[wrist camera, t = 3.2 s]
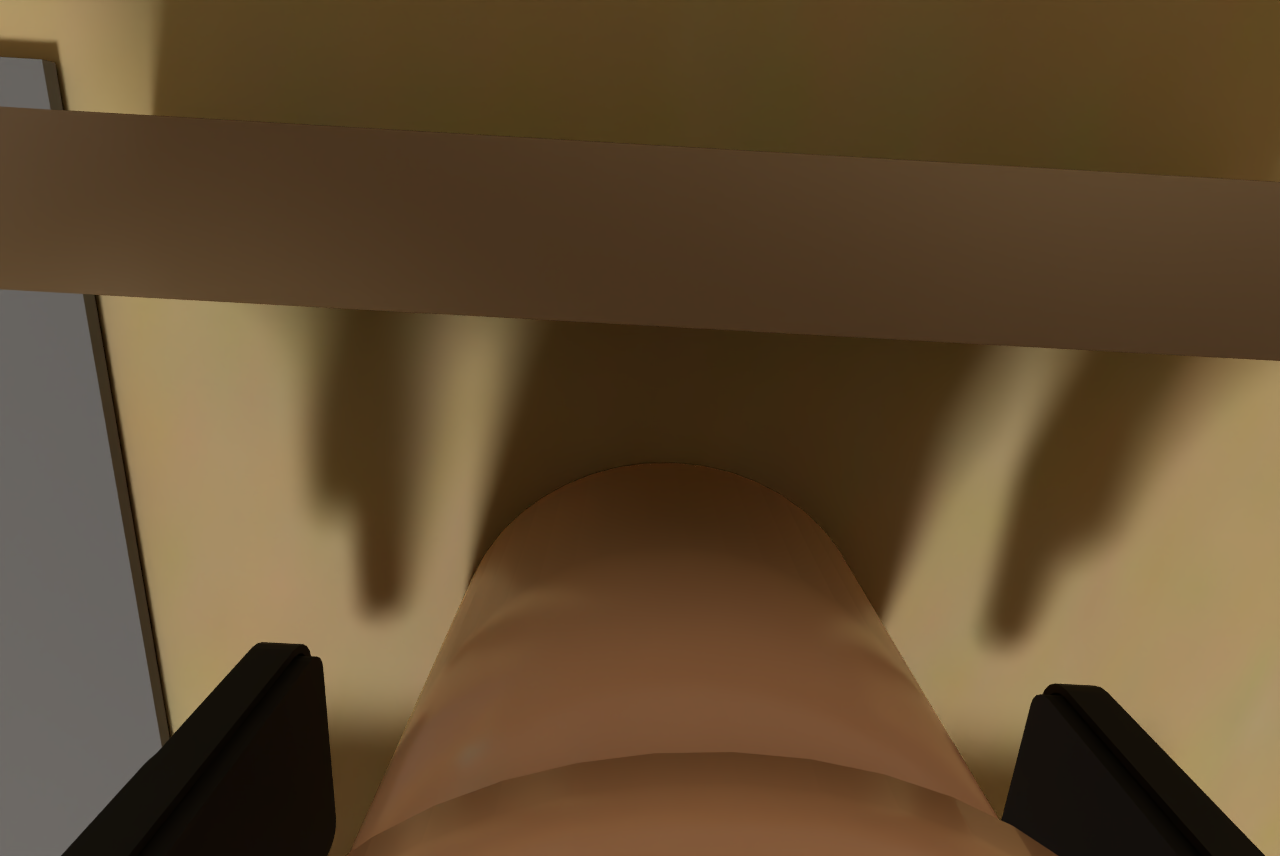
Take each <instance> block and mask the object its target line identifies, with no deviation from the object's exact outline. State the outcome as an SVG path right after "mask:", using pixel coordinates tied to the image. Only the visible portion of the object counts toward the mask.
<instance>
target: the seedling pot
mask: <svg viewBox="0 0 1280 856" xmlns="http://www.w3.org/2000/svg"><path fill="white" fill-rule="evenodd" d="M346 856H1058V855H1056V854H1055V853H1053V852H1052V851H1050V850H1049V849H1047V848H1046V847H1044V846H1043V845H1041V844H1040V843H1038V842H1037V841H1035V840H1034V839H1032V838H1031V837H1029V836H1028V835H1026V834H1025V833H1023V832H1022V831H1020V830H1019V829H1017V828H1015V827H1014V826H1012V825H1010V824H1008V823H1006V822H1004V821H1002V820H1000V819H998V817H997V816H996V814H995V812H994V811H993V809H992V807H991V805H990V804H989V802H988V800H987V799H986V797H985V795H984V794H983V792H982V790H981V789H980V787H979V785H978V784H977V782H976V780H975V779H974V777H973V775H972V773H971V772H970V770H969V768H968V767H967V765H966V763H965V762H964V760H963V758H962V757H961V755H960V753H959V752H958V750H957V748H956V747H955V745H954V743H953V742H952V740H951V738H950V736H949V735H948V733H947V731H946V730H945V728H944V726H943V725H942V723H941V721H940V720H939V718H938V716H937V715H936V713H935V711H934V710H933V708H932V706H931V704H930V703H929V701H928V699H927V698H926V696H925V694H924V693H923V691H922V689H921V688H920V686H919V684H918V683H917V681H916V679H915V678H914V676H913V674H912V673H911V671H910V669H909V667H908V666H907V664H906V662H905V661H904V659H903V657H902V656H901V654H900V652H899V651H898V649H897V647H896V646H895V644H894V642H893V641H892V639H891V637H890V635H889V634H888V632H887V630H886V629H885V627H884V625H883V624H882V622H881V620H880V619H879V617H878V615H877V614H876V612H875V610H874V609H873V607H872V605H871V603H870V602H869V600H868V598H867V597H866V595H865V593H864V592H863V590H862V588H861V587H860V585H859V583H858V582H857V580H856V578H855V577H854V575H853V573H852V572H851V570H850V568H849V566H848V565H847V563H846V561H845V560H844V558H843V556H842V555H841V553H840V551H839V550H838V548H837V547H836V546H835V544H834V543H833V542H832V540H831V539H830V538H829V537H828V535H827V534H826V533H825V532H824V530H823V529H822V528H821V527H820V526H819V525H818V524H817V523H816V522H815V521H814V520H813V519H812V518H811V517H809V516H808V515H807V514H806V513H805V512H804V511H803V510H802V509H800V508H799V507H798V506H796V505H795V504H793V503H792V502H791V501H789V500H788V499H786V498H785V497H784V496H782V495H780V494H779V493H777V492H775V491H773V490H771V489H769V488H767V487H765V486H764V485H762V484H760V483H758V482H755V481H753V480H750V479H747V478H745V477H742V476H739V475H737V474H734V473H731V472H727V471H723V470H719V469H715V468H710V467H706V466H700V465H690V464H681V463H645V464H638V465H631V466H624V467H617V468H613V469H610V470H606V471H602V472H599V473H595V474H591V475H588V476H586V477H583V478H581V479H579V480H576V481H574V482H571V483H569V484H566V485H564V486H562V487H560V488H559V489H557V490H555V491H553V492H552V493H550V494H548V495H546V496H545V497H543V498H541V499H540V500H538V501H537V502H536V503H534V504H533V505H532V506H530V507H529V508H528V509H526V510H525V511H524V512H522V513H521V514H520V515H518V516H517V517H516V518H515V519H514V520H513V521H512V523H511V524H510V525H509V526H508V527H507V528H506V529H505V530H504V531H503V532H502V533H501V534H500V535H499V536H498V537H497V539H496V540H495V541H494V543H493V544H492V545H491V547H490V548H489V549H488V551H487V552H486V553H485V555H484V557H483V558H482V560H481V562H480V564H479V566H478V568H477V569H476V571H475V573H474V575H473V577H472V579H471V581H470V584H469V586H468V588H467V590H466V593H465V595H464V597H463V599H462V602H461V604H460V606H459V608H458V611H457V613H456V615H455V617H454V619H453V622H452V624H451V626H450V628H449V631H448V633H447V635H446V637H445V640H444V642H443V644H442V646H441V649H440V651H439V653H438V655H437V658H436V660H435V662H434V664H433V667H432V669H431V671H430V673H429V676H428V678H427V680H426V682H425V685H424V687H423V689H422V691H421V693H420V696H419V698H418V700H417V702H416V705H415V707H414V709H413V711H412V714H411V716H410V718H409V720H408V723H407V725H406V727H405V729H404V732H403V734H402V736H401V738H400V741H399V743H398V745H397V747H396V750H395V752H394V754H393V756H392V759H391V761H390V763H389V765H388V767H387V770H386V772H385V774H384V776H383V779H382V781H381V783H380V785H379V788H378V790H377V792H376V794H375V797H374V799H373V801H372V803H371V806H370V808H369V810H368V812H367V815H366V817H365V819H364V821H363V824H362V826H361V828H360V830H359V833H358V835H357V837H356V839H355V842H354V844H353V846H352V848H351V850H350V853H348V854H347V855H346Z"/></svg>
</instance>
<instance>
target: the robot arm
mask: <svg viewBox="0 0 1280 856" xmlns="http://www.w3.org/2000/svg"><path fill="white" fill-rule="evenodd" d="M1002 821H1004V822H1006V823H1008V824H1010V825H1012V826H1014V827H1015V828H1017V829H1019V830H1020V831H1022V832H1023V833H1025V834H1026V835H1028V836H1029V837H1031V838H1032V839H1034V840H1035V841H1037V842H1038V843H1040V844H1041V845H1043V846H1044V847H1046V848H1047V849H1049V850H1050V851H1052V852H1053V853H1055V854H1056V855H1058V856H1265V855H1264V854H1263V853H1262V852H1261V851H1260V850H1259V849H1258V848H1257V847H1256V846H1255V845H1254V844H1253V843H1252V842H1251V841H1250V840H1249V839H1248V838H1247V836H1246V835H1245V834H1244V833H1243V832H1242V831H1241V830H1240V829H1239V828H1238V827H1237V826H1236V825H1235V824H1234V823H1233V822H1232V821H1231V820H1230V819H1229V818H1228V817H1227V816H1226V815H1225V814H1224V813H1223V812H1222V811H1221V810H1220V808H1219V807H1218V806H1217V805H1216V804H1215V803H1214V802H1213V801H1212V800H1211V799H1210V798H1209V797H1208V796H1207V795H1206V794H1205V793H1204V792H1203V791H1202V790H1201V789H1200V788H1199V787H1198V786H1197V785H1196V784H1195V783H1194V782H1193V780H1192V779H1191V778H1190V777H1189V776H1188V775H1187V774H1186V773H1185V772H1184V771H1183V770H1182V769H1181V768H1180V767H1179V766H1178V765H1177V764H1176V763H1175V762H1174V761H1173V760H1172V759H1171V758H1170V757H1169V756H1168V755H1167V754H1166V752H1165V751H1164V750H1163V749H1162V748H1161V747H1160V746H1159V745H1158V744H1157V743H1156V742H1155V741H1154V740H1153V739H1152V738H1151V737H1150V736H1149V735H1148V734H1147V733H1146V732H1145V731H1144V730H1143V729H1142V728H1141V727H1140V726H1139V724H1138V723H1137V722H1136V721H1135V720H1134V719H1133V718H1132V717H1131V716H1130V715H1129V714H1128V713H1127V712H1126V711H1125V710H1124V709H1123V708H1122V707H1121V706H1120V705H1119V704H1118V703H1117V702H1116V701H1115V700H1114V699H1113V698H1112V696H1111V695H1110V694H1109V693H1108V692H1106V691H1105V690H1104V689H1102V688H1101V687H1097V686H1091V685H1072V684H1051V685H1049V686H1048V687H1047V688H1046V689H1045V690H1044V693H1043V694H1040V695H1036V696H1035V697H1034V698H1033V700H1032V703H1031V706H1030V710H1029V714H1028V718H1027V722H1026V725H1025V729H1024V733H1023V737H1022V741H1021V745H1020V749H1019V753H1018V757H1017V761H1016V765H1015V769H1014V773H1013V777H1012V781H1011V785H1010V789H1009V793H1008V797H1007V800H1006V804H1005V808H1004V812H1003V816H1002ZM335 828H336V813H335V801H334V790H333V778H332V766H331V755H330V743H329V731H328V719H327V708H326V696H325V684H324V672H323V664H322V661H321V659H320V658H319V657H313V656H311V655H310V651H309V649H308V647H307V646H305V645H304V644H287V643H267V642H261V643H257V644H256V645H255V646H254V647H252V648H251V649H250V650H249V652H248V653H247V654H246V655H245V656H244V657H243V658H242V659H241V660H240V662H239V663H238V664H237V665H236V666H235V667H234V668H233V669H232V670H231V671H230V673H229V674H228V675H227V676H226V677H225V678H224V679H223V680H222V681H221V682H220V684H219V685H218V686H217V687H216V688H215V689H214V690H213V691H212V692H211V694H210V695H209V696H208V697H207V698H206V699H205V700H204V701H203V702H202V703H201V705H200V706H199V707H198V708H197V709H196V710H195V711H194V712H193V713H192V715H191V716H190V717H189V718H188V719H187V720H186V721H185V722H184V723H183V724H182V726H181V727H180V728H179V729H178V730H177V731H176V732H175V733H174V734H173V736H172V737H171V738H170V739H169V740H168V741H167V742H166V743H165V744H164V745H163V747H162V748H161V749H160V750H159V751H158V752H157V753H156V754H155V755H154V756H152V757H151V758H150V759H149V760H148V761H147V762H146V763H145V764H144V765H143V766H142V767H141V768H140V769H139V770H138V771H137V773H136V774H135V775H134V776H133V777H132V778H131V779H130V780H129V781H128V782H127V784H126V785H125V786H124V787H123V788H122V789H121V790H120V791H119V792H118V793H117V795H116V796H115V797H114V798H113V799H112V800H111V801H110V802H109V803H108V804H107V806H106V807H105V808H104V809H103V810H102V811H101V812H100V813H99V814H98V815H97V817H96V818H95V819H94V820H93V821H92V822H91V823H90V824H89V825H88V826H87V828H86V829H85V830H84V831H83V832H82V833H81V834H80V835H79V836H78V837H77V839H76V840H75V841H74V842H73V843H72V844H71V845H70V846H69V847H68V848H67V850H66V851H65V852H64V853H63V854H62V855H61V856H327V855H328V853H329V851H330V848H331V846H332V842H333V839H334V834H335Z"/></svg>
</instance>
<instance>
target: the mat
mask: <svg viewBox="0 0 1280 856" xmlns="http://www.w3.org/2000/svg"><path fill="white" fill-rule="evenodd" d="M0 107H16V108H33V109H50V110H63V107H62V101H61V95H60V90H59V84H58V78H57V72H56V66H55V63H54V62H50V61H46V60H42V59H26V58H9V57H0ZM169 739H170V738H169V732H168V726H167V720H166V714H165V708H164V702H163V696H162V690H161V685H160V679H159V673H158V667H157V661H156V655H155V649H154V643H153V637H152V632H151V626H150V620H149V614H148V608H147V602H146V596H145V590H144V584H143V579H142V573H141V567H140V561H139V555H138V549H137V543H136V537H135V531H134V526H133V520H132V514H131V508H130V502H129V496H128V490H127V484H126V478H125V473H124V467H123V461H122V455H121V449H120V443H119V437H118V431H117V425H116V419H115V414H114V408H113V402H112V396H111V390H110V384H109V378H108V372H107V366H106V361H105V355H104V349H103V343H102V337H101V331H100V325H99V319H98V313H97V308H96V302H95V296H94V295H92V294H74V293H56V292H38V291H20V290H2V289H0V856H61V855H62V854H63V853H64V852H65V851H66V850H67V848H68V847H69V846H70V845H71V844H72V843H73V842H74V841H75V840H76V839H77V837H78V836H79V835H80V834H81V833H82V832H83V831H84V830H85V829H86V828H87V826H88V825H89V824H90V823H91V822H92V821H93V820H94V819H95V818H96V817H97V815H98V814H99V813H100V812H101V811H102V810H103V809H104V808H105V807H106V806H107V804H108V803H109V802H110V801H111V800H112V799H113V798H114V797H115V796H116V795H117V793H118V792H119V791H120V790H121V789H122V788H123V787H124V786H125V785H126V784H127V782H128V781H129V780H130V779H131V778H132V777H133V776H134V775H135V774H136V773H137V771H138V770H139V769H140V768H141V767H142V766H143V765H144V764H145V763H146V762H147V761H148V760H149V759H150V758H151V757H152V756H154V755H155V754H156V753H157V752H158V751H159V750H160V749H161V748H162V747H163V745H164V744H165V743H166V742H167V741H168V740H169Z"/></svg>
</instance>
